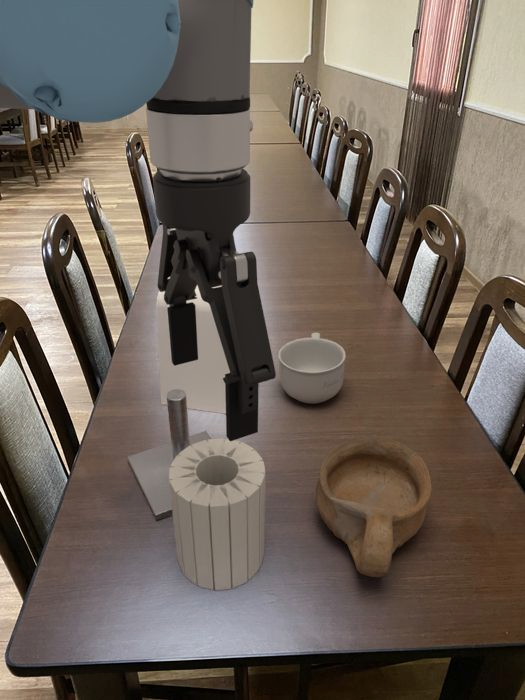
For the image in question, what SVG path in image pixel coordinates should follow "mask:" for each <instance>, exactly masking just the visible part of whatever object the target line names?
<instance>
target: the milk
mask: <svg viewBox="0 0 525 700" xmlns="http://www.w3.org/2000/svg"><path fill="white" fill-rule="evenodd" d="M169 278H170V277H169ZM169 278H168V279H169ZM218 287H221V286H218ZM213 288H216V287H213ZM164 293H165V291H164V292H160V291H159V290H158V293H157V297H156V305H155V307H156V309H155V310H156V327H157V329H156V330H157V348H158V370H159V391H160V405H163V406H164V405H165V406H168V404H167V393H168V392H169V391H171V390H174V389H181V390H183V391H185V393H186V400H187V409H190V410H197V411H204V412H211V413H216V414H217V413H218V414H224V415H226V395H225V382H224V381H223V378H224V377H225V374H228V373H230V370H229V367H228V364H227V360H226V357H225V354H224V351H223V347H222V344H221V341H220V337H219V334H218V331H217V328H216V324H215V321H214V318H213V314H212V311H211V308H210V305H209V303H207V302H205V301H203V300H202V298H201V295H200V292H199V288H198V285H197V287H196V289H195V293H196V296H195V297H197V299H193V300H188V301H186V303H191V302H193V303H194V304H195V309H196V327H197V346H198V360H195V361H191V362H187V363H183V364H179V365H176V366H174V365H173V363H172V358H171V346H170V334H169V322H168V310H167V307H170V304H169V305H167V304H166V302H165V300H164Z"/></svg>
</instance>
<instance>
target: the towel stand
mask: <svg viewBox="0 0 525 700" xmlns="http://www.w3.org/2000/svg"><path fill="white" fill-rule="evenodd" d="M167 404H168V405H167V414H168V421H169V434H170V442H167V443H164V444H162V445H159V446H155V447H153V448H150V449H147V450H144V451H141V452H138V453H134V454H131V455H129V456H127V457H126V459H127V463H128V465H129V467H130V469H131V471H132V473H133V476H134V477H135V480H136V482H137V484H138V486H139V488H140V490H141V492H142V494H143V496H144V499H145V500H146V503H147V504H148V506H149V508H150V509H149V510H151V513H152V515H153V517H154V519H155V521H156V522H157V521H159V520H162V519H165V518H166V517H170V516H173V513H172V504H171V495H170V486H169V468H170V465H171V464H172V462H173V461H174V459H175V457H176V456H177V455H178V454H179V453H180V452H181V451H183V450H184V449H185V448H187V447H188V446H191V445H192V444H195V443H197V442H200V441H203V440H206V441H207V442H208V439H212V437H211V436H210V435H209V433H208V432H207V430H204V431H201V432H198V433H195V434H191V435H190V426H189V414H188V413H189V412H188V408H187V400H186V393H185V391H183V390H181V389H174V390H171V391H169V392H168V393H167Z"/></svg>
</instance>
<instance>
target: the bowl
mask: <svg viewBox="0 0 525 700" xmlns="http://www.w3.org/2000/svg"><path fill="white" fill-rule="evenodd" d="M431 479H432V478H431V475H430V472H429V468H428V466H427V465H426V463H425V461H424V460H423V458H422V457H421V456H419V454H418V453H417V452H415V451H414V450H412V449H411V448H409V447H408V446H407V445H404V443H401V442H399V441H398V440H396V439H393V438H387V437H381V436H371V437H365V438H352V439H349V440H346V441H343V442H342V443H341V444H338V445H336V446H335V447H334V448H333V449H332V450H330V451H329V452H328V453H327V454H326V456H324V458H323V460H322V462H321V465H320V467H319V473H318V479H317V483H316V487H315V502H316V503H315V504H316V509H317V511H318V513H319V514H320V517H321V519H322V521H323V522H324V524H326V526H327V528H328V529H329V531H331V532H333V535H334V536H335V537H336V538H338V539H340V540H341V541H342V542H344V544H347V547H348V550H349V552H350V555H351V556H352V559H353V561H354V564H355V567H356V570H357V572H358V573H359V574H362V575H364V576H366V577H371V578H382V577H385V576H387V575H388V574H389V570H390V569H391V563H392V559H393V558H392V557H393V554H394V553H395V552H396V550H397V549H398V548H401V547H402V546H403V545H404V544H405V542H408V541H409V540H410V539H411V538H413V537H414V536H415V535H416V534H417V533H418V532H419V530H420V529H421V528H422V526H423V523H424V521H425V518H426V514H427V509H428V504H429V502H430V500H431V496H432V490H433V489H432V488H433V486H432V485H433V484H432V480H431Z"/></svg>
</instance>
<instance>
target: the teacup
mask: <svg viewBox="0 0 525 700" xmlns="http://www.w3.org/2000/svg"><path fill="white" fill-rule="evenodd" d="M277 358H278V365H279V378H280V384H281V386H282V389H283V390H284V391H285V393H286V394H287V395H288V396H289V397H291V398H292V399H294V400H297V401H299V402H301V403H304V404H311V405H312V404H314V405H315V404H320V403H323V402H326V401H327V400H330V399H332V398H333V397H335V396H337V394H338V393H339V392H340V390H341V389H342V387H343V383H344V377H345V361H346V359H347V354H346V350H345V349H344V348H343V346H341V345H340V344H339V343H337V342H335V341H333V340H331V339H327V338H322V337H321V333H320V332H312V333H311V336H310V337H303V338H297V339H293V340H291V341H289V342H287V343H285V344H284V345H283V346H281V348H280V349H279V351H278V353H277Z"/></svg>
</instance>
